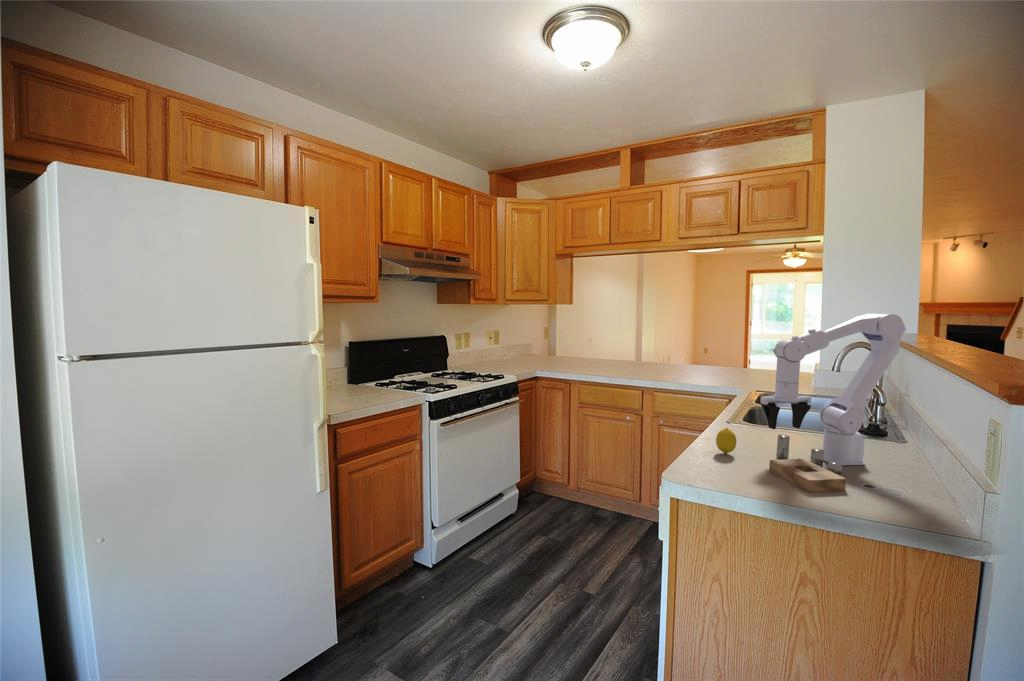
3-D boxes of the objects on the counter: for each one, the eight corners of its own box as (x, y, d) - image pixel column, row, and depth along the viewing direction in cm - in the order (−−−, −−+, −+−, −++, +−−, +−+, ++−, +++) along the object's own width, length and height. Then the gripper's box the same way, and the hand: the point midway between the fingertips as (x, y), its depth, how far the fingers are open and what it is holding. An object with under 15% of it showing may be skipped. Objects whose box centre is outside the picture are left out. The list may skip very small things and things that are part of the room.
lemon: (737, 457, 136) (739, 431, 135) (717, 456, 137) (719, 430, 136) (732, 451, 141) (734, 426, 140) (713, 450, 142) (714, 425, 141)
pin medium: (817, 465, 130) (818, 448, 130) (825, 469, 127) (826, 451, 127) (807, 465, 130) (808, 448, 129) (815, 469, 127) (816, 451, 126)
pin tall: (783, 457, 136) (784, 434, 136) (790, 460, 133) (792, 437, 133) (773, 457, 136) (775, 434, 135) (781, 461, 133) (782, 437, 132)
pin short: (834, 473, 124) (835, 460, 124) (843, 477, 121) (844, 464, 121) (824, 473, 124) (825, 461, 123) (833, 478, 121) (834, 465, 120)
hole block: (802, 469, 127) (803, 458, 126) (845, 490, 113) (846, 478, 113) (769, 470, 126) (769, 460, 125) (808, 492, 112) (809, 480, 111)
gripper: (799, 378, 137) (796, 423, 139) (754, 379, 136) (752, 424, 137) (818, 383, 130) (814, 430, 132) (771, 384, 129) (768, 431, 130)
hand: (784, 427), depth 134 cm, fingers open, 7 cm apart
